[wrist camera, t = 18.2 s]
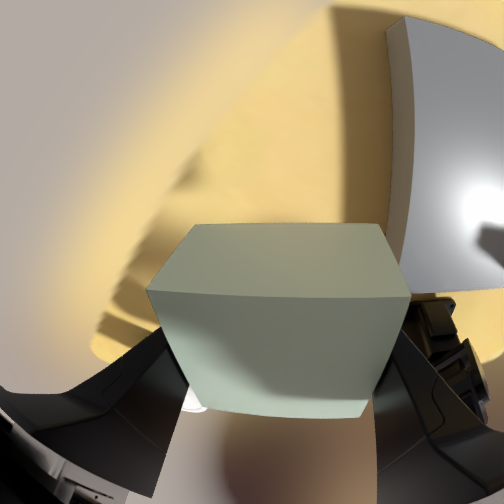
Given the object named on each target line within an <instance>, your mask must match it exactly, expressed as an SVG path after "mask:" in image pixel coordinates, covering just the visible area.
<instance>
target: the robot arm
mask: <svg viewBox="0 0 504 504" xmlns="http://www.w3.org/2000/svg"><path fill="white" fill-rule="evenodd" d="M455 306H456V303H455V301H454V300H441V301H424V302H410V303H409V306H408V309H407V312H406V315H405V318H404V321H403V324H402V326H401V329H400V332H399V334H398V337H397V339H396V342H395V344H394V347H393V349H392V352H391V354H390V356H389V359H388V361H387V363H386V366H385V368H384V370H383V372H382V374H381V376H380V379H379V381H378V383H377V385H376V387H375V389H374V391H373V393H372V400H373V410H374V420H375V434H376V452H377V473H378V474H377V504H504V432H500V431H496V430H493V429H491V428H489V427H488V426H487V424H488V416H487V412H486V408H485V404H486V403H488V402H489V401H490V394H489V390H488V385H487V381H486V377H485V374H484V371H483V368H482V366H481V363H480V360H479V358H478V356H477V354H476V352H475V350H474V348H473V346H472V345H471V343H470V341H469V339H468V338H467V339H465V340H464V341H463V342H462V343H460V340H459V338H458V335H457V329H456V327H455V324H454V322H453V320H452V318H451V315H452V313H453V311H454V309H455ZM189 385H190V384H189V382H188V381H187V379H186V377H185V375H184V373H183V371H182V369H181V367H180V365H179V363H178V361H177V359H176V357H175V355H174V353H173V351H172V349H171V347H170V345H169V343H168V340H167V338H166V336H165V334H164V332H163V330H162V327H159V328H158V329H157V330H155V331H154V332H153V333H151V334H150V335H149V336H148V337H146V338H145V339H144V340H142V341H141V342H140V343H138V344H137V345H136V346H134V347H133V348H132V349H130V350H129V351H128V352H126V353H125V354H124V355H123V357H122V356H121V357H120V358H118V359H117V360H116V361H115V362H113V363H112V364H110V365H109V366H108V367H106V368H105V369H103V370H102V371H100V372H99V373H97V374H96V375H94V376H93V377H91V378H89V379H88V380H86V381H84V382H83V383H81V384H79V385H78V386H76V387H74V388H73V389H71V390H69V391H67V392H64V393H61V394H20V393H12V392H9V391H6V390H5V389H4V388H3V387H2V386H0V408H1V409H2V410H3V411H4V412H5V413H6V414H7V415H8V416H9V417H10V418H11V419H12V420H13V421H14V422H15V423H14V424H13V423H11V422H10V421H9V420H8V419H7V418H6V417H4V416H3V415H2V414H1V413H0V504H125V501H126V498H127V496H128V493H129V490H130V491H132V492H135V493H138V494H140V495H143V496H146V497H149V498H152V496H153V493H154V490H155V487H156V484H157V481H158V478H159V475H160V472H161V469H162V466H163V463H164V459H165V457H166V453H167V450H168V447H169V444H170V441H171V438H172V435H173V432H174V429H175V426H176V423H177V420H178V417H179V414H180V411H181V409H182V406H183V403H184V400H185V397H186V394H187V391H188V388H189Z"/></svg>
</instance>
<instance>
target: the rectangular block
mask: <svg viewBox="0 0 504 504" xmlns="http://www.w3.org/2000/svg"><path fill="white" fill-rule="evenodd" d="M146 292H147V294H148V297H149V299H150V302H151V304H152V306H153V309H154V311H155V314H156V316H157V318H158V321H159V323H160V325H161V327H162V330H163V332H164V334H165V336H166V338H167V340H168V343H169V345H170V347H171V349H172V351H173V353H174V355H175V357H176V359H177V361H178V363H179V365H180V367H181V369H182V371H183V373H184V375H185V377H186V379H187V381H188V382H189V384H190V386H191V388H192V390H193V392H194V393H195V395H196V397H197V399H198V401H199V402H200V404H201V406H202V407H206V408H211V409H217V410H223V411H230V412H237V413H245V414H253V415H263V416H275V417H291V418H355V417H360V415H361V413H362V412H363V410H364V408H365V406H366V404H367V402H368V401H369V399H370V397H371V395H372V393H373V391H374V389H375V387H376V385H377V383H378V381H379V379H380V376H381V374H382V372H383V370H384V368H385V366H386V363H387V361H388V359H389V356H390V354H391V352H392V349H393V347H394V344H395V342H396V339H397V337H398V334H399V332H400V329H401V326H402V324H403V321H404V318H405V315H406V312H407V309H408V306H409V303H410V300H411V297H412V296H411V294H410V291H409V289H408V286H407V284H406V281H405V279H404V277H403V274H402V272H401V270H400V268H399V265H398V263H397V261H396V259H395V257H394V254H393V252H392V250H391V248H390V246H389V244H388V242H387V240H386V238H385V236H384V234H383V232H382V230H381V228H380V226H379V224H372V223H238V224H199V225H194V226H193V228H192V229H191V230H190V231H189V233H188V234H187V235H186V236H185V238H184V239H183V240H182V242H181V243H180V244H179V245H178V247H177V248H176V249H175V251H174V252H173V253H172V254H171V256H170V257H169V258H168V260H167V261H166V262H165V264H164V265H163V266H162V268H161V269H160V270H159V272H158V273H157V274H156V276H155V277H154V278H153V280H152V281H151V283H150V284H149V285H148V287H147V288H146Z"/></svg>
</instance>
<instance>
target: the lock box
mask: <svg viewBox="0 0 504 504" xmlns="http://www.w3.org/2000/svg"><path fill="white" fill-rule="evenodd" d="M385 34H386V40H387V48H388V56H389V64H390V75H391V88H392V109H393V155H392V176H391V190H390V201H389V211H388V220H387V228H386V235H385V238H386V240H387V242H388V244H389V246H390V248H391V250H392V252H393V254H394V257H395V259H396V261H397V263H398V265H399V268H400V270H401V272H402V274H403V277H404V279H405V281H406V284H407V286H408V289H409V291H410V294H416V293H438V292H456V291H471V290H484V289H496V288H504V51H503V50H501V49H499V48H497V47H495V46H493V45H491V44H489V43H486V42H484V41H482V40H480V39H477V38H475V37H472V36H470V35H467V34H465V33H462V32H459V31H456V30H454V29H451V28H448V27H444V26H441V25H438V24H435V23H431V22H428V21H424V20H420V19H416V18H412V17H407V16H404V17H402V18H401V19H400V20H398V21H397V22H396V23H394V24H393V25H392V26H390V27H389V28H388V29H387V30H385Z"/></svg>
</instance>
